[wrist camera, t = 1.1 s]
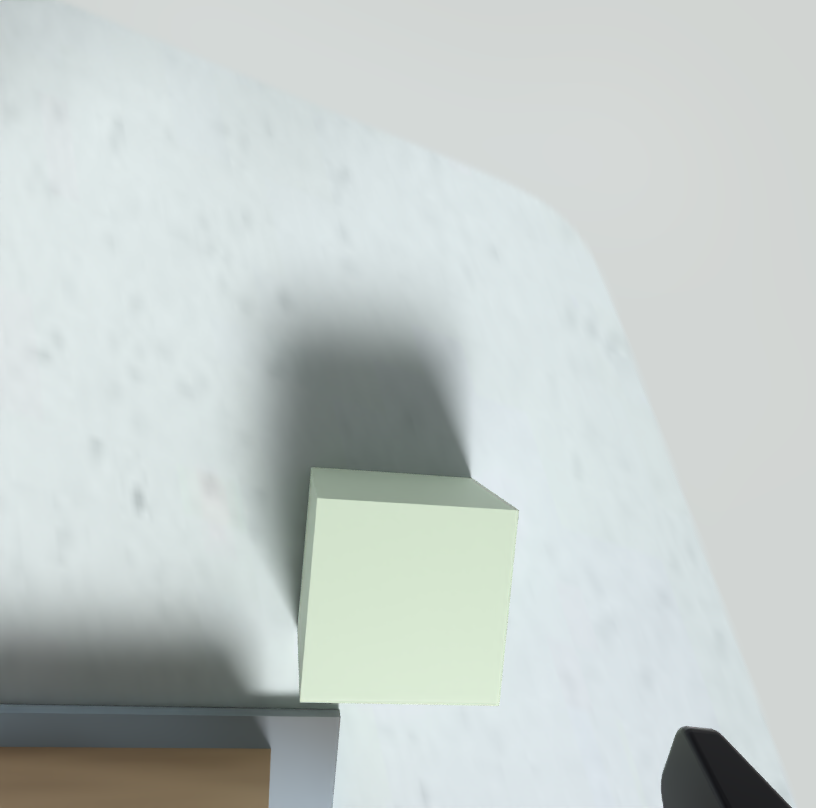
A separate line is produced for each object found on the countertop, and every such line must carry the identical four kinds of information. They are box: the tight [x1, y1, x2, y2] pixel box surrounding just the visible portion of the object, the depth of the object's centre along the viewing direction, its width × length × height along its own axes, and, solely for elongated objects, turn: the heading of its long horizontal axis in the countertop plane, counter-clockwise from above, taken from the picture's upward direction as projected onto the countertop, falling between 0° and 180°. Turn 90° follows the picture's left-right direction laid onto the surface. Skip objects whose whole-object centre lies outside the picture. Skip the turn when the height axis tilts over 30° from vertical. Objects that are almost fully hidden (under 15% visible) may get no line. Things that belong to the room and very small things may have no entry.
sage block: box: [297, 467, 519, 706], centre depth 21 cm, size 5×5×5 cm
